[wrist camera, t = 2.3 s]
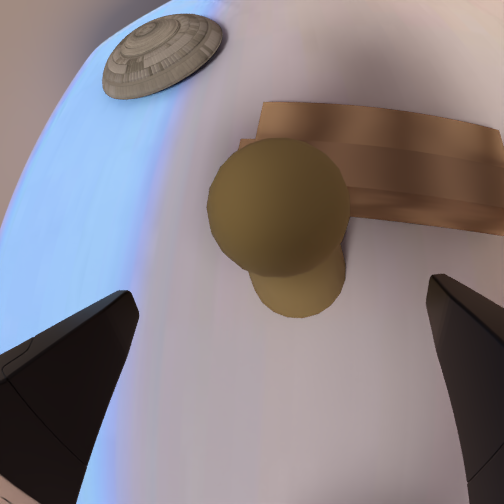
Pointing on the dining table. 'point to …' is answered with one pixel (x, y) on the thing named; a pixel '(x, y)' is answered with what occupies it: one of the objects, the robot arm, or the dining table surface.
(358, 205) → the guide rail
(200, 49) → the flying saucer
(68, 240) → the dining table surface
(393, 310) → the dining table surface
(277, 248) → the cork
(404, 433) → the dining table surface
